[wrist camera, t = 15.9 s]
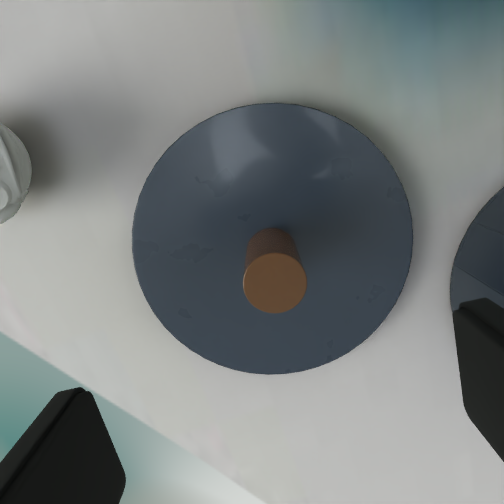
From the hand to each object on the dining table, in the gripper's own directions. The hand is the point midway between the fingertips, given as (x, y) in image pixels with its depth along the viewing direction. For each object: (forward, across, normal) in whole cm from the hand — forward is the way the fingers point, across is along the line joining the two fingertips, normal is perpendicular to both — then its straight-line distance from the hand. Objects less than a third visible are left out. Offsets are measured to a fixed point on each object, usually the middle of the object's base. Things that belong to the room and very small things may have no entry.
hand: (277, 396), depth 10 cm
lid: (+13, 0, 0) cm, 13 cm away
